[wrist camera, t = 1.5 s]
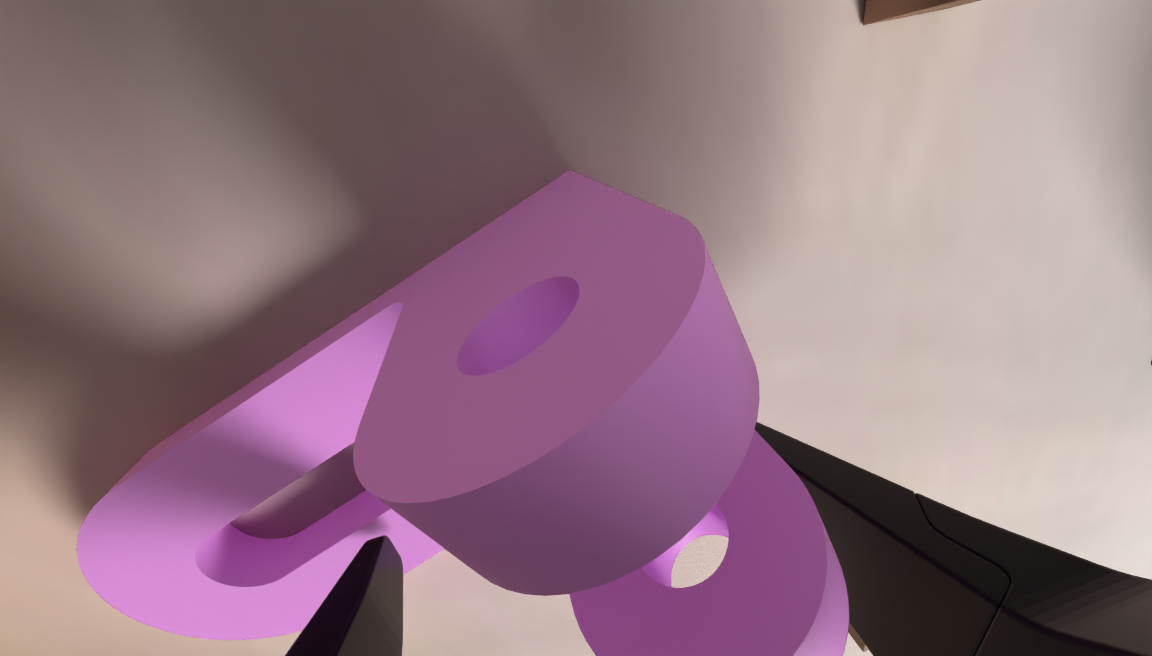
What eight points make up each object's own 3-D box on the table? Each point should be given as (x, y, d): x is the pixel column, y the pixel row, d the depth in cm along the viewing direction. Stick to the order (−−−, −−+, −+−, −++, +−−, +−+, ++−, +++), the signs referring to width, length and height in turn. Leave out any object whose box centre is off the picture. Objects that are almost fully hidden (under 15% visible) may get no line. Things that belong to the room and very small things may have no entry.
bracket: (567, 169, 8) (824, 276, 2) (673, 360, 11) (924, 645, 5) (61, 505, 9) (-790, 1298, 3) (276, 611, 12) (66, 1143, 6)
